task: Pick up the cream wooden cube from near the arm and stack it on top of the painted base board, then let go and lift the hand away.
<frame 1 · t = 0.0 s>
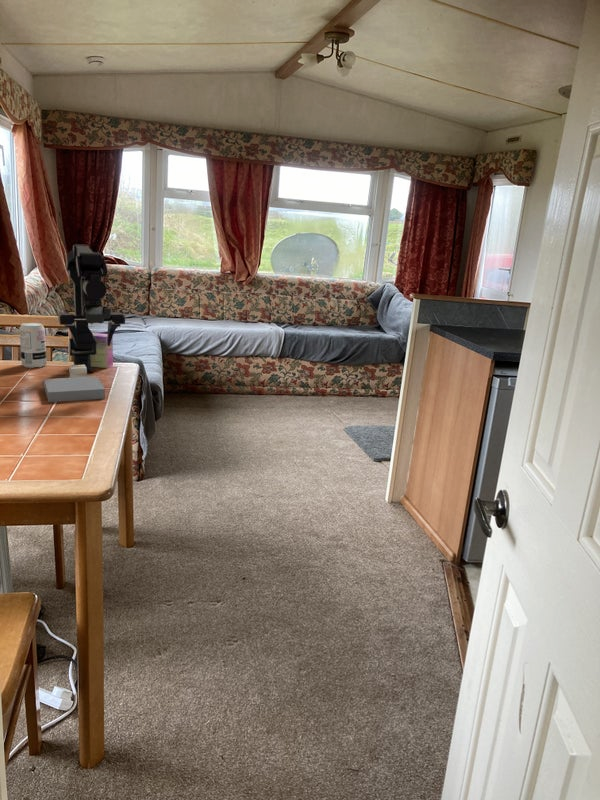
hand: (93, 346, 186), 15 cm above the table, tool pointing down, fingers open, 9 cm apart
base board: (74, 393, 188), on the table
cube: (78, 381, 202), on the table
supplement can: (34, 366, 218), on the table
box: (96, 366, 224), on the table
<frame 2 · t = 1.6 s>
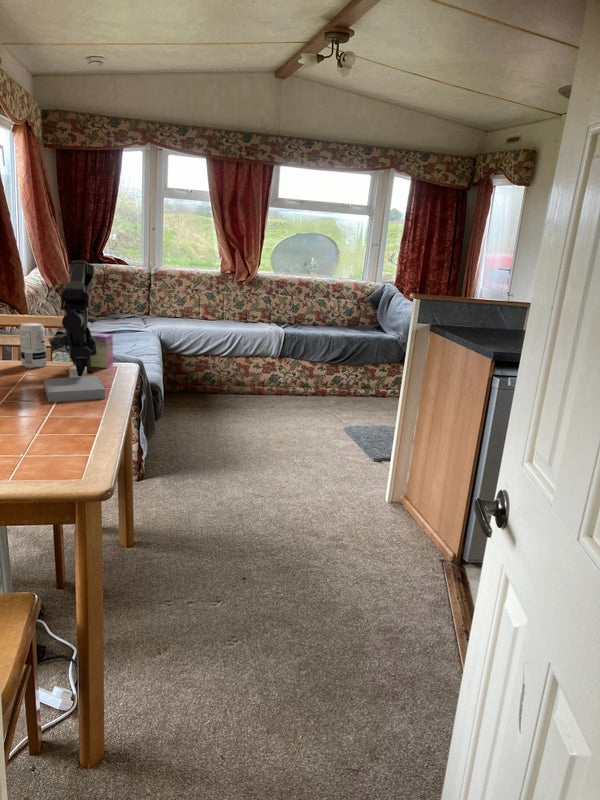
hand: (78, 372, 201), 3 cm above the table, tool pointing down, fingers open, 9 cm apart
nothing on the table moved.
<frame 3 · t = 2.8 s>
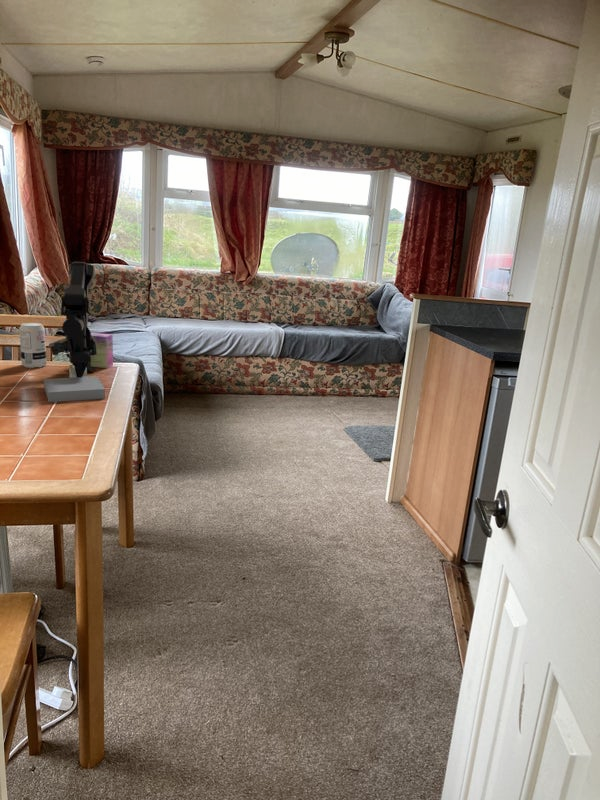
hand: (78, 377, 202), 1 cm above the table, tool pointing down, fingers closed on cube, 5 cm apart
cube: (78, 380, 202), on the table, touching gripper
everything else where it was.
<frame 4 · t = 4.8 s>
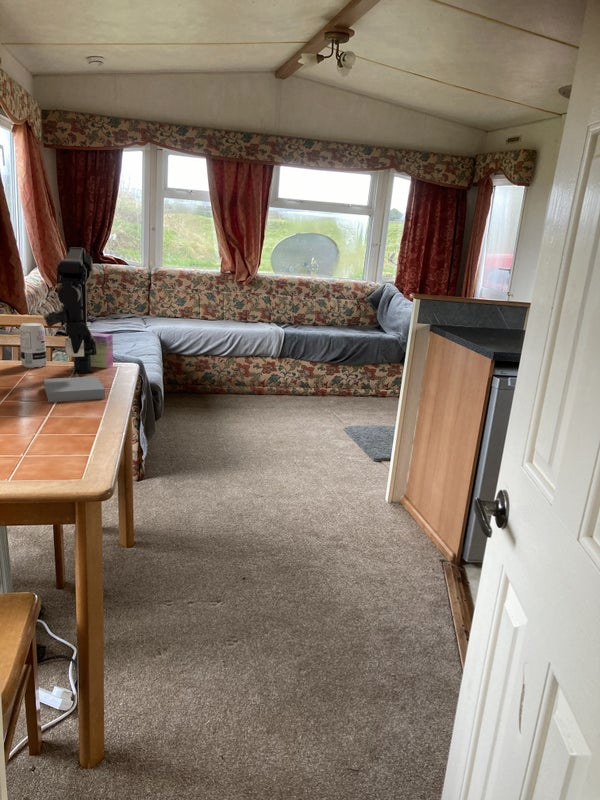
hand: (74, 351, 191), 12 cm above the table, tool pointing down, fingers closed on cube, 5 cm apart
cube: (74, 355, 192), point 11 cm above the table, touching gripper
everything else where it was.
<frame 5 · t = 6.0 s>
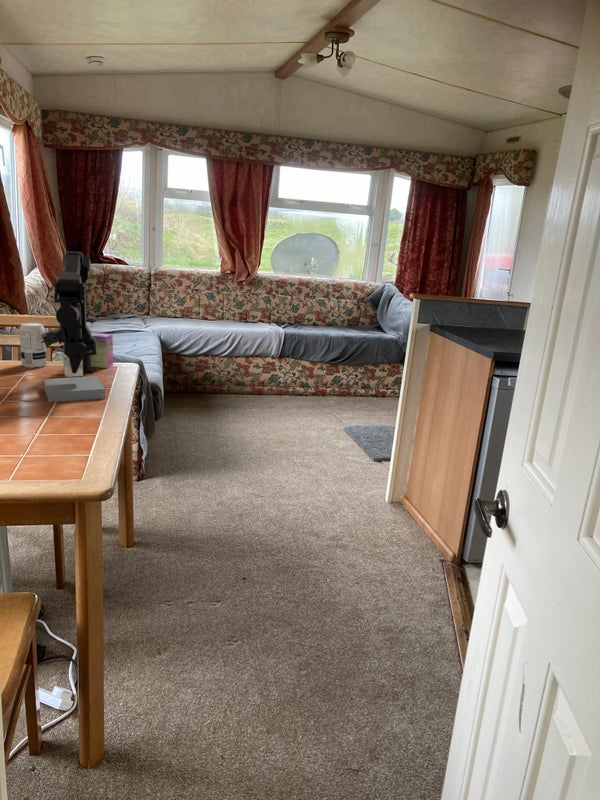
hand: (73, 371, 186), 7 cm above the table, tool pointing down, fingers closed on cube, 5 cm apart
cube: (73, 374, 186), point 6 cm above the table, touching gripper
everything else where it was.
when the fingers open (5 cm above the table, at t = 7.1 s): cube drops 1 cm, resting on base board.
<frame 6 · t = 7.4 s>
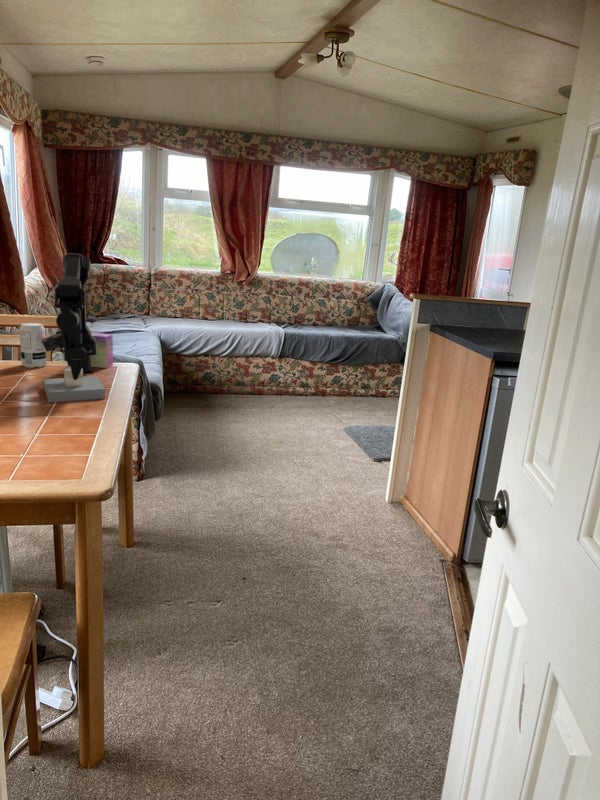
hand: (73, 376, 186), 5 cm above the table, tool pointing down, fingers open, 9 cm apart
cube: (73, 383, 187), point 3 cm above the table, touching base board
everything else where it was.
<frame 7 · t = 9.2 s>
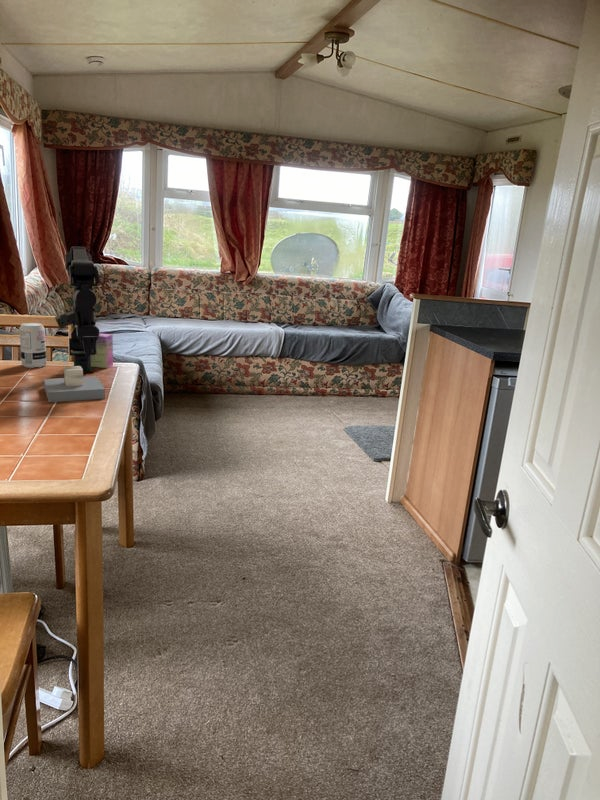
hand: (86, 353, 190), 12 cm above the table, tool pointing down, fingers open, 9 cm apart
nothing on the table moved.
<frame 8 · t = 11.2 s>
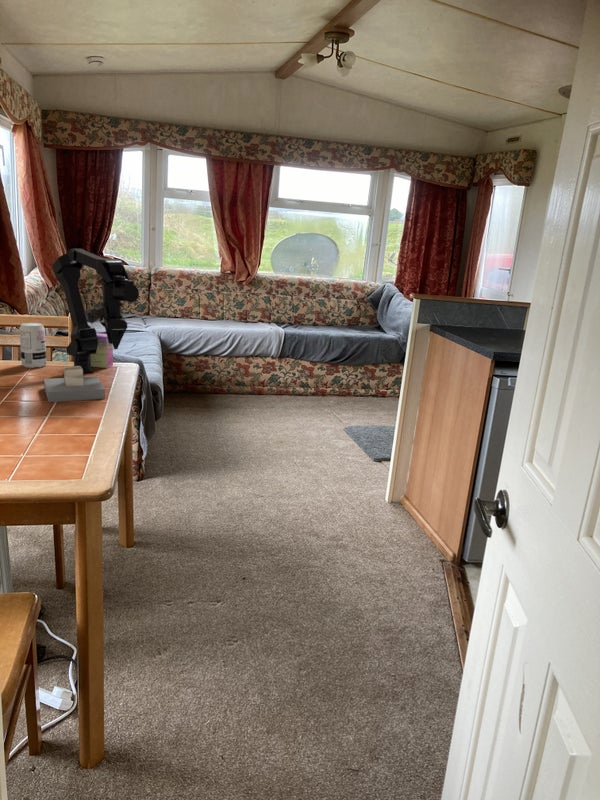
hand: (113, 346, 201), 12 cm above the table, tool pointing down, fingers open, 9 cm apart
nothing on the table moved.
at the end: cube inside the target area on the base board (0.0 cm from its centre), point 3.0 cm above the base board's base; cube tilted 0°; the gripper is holding nothing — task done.
